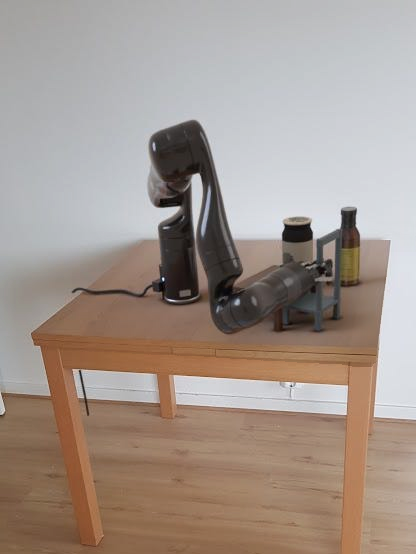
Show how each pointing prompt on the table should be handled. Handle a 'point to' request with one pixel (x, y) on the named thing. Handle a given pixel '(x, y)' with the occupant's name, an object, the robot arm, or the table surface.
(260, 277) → the walnut table
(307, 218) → the travel mug
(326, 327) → the table surface
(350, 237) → the sauce bottle
